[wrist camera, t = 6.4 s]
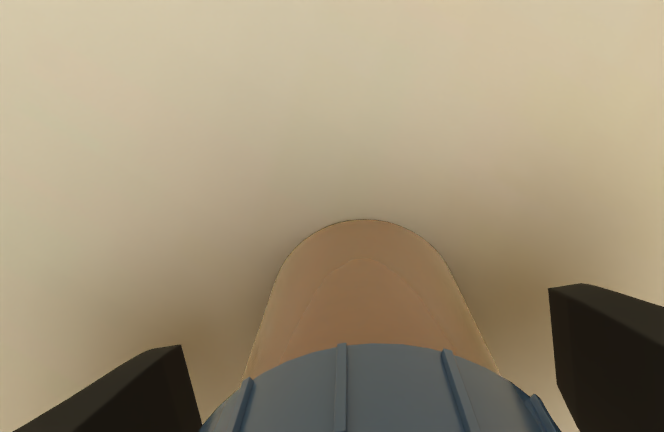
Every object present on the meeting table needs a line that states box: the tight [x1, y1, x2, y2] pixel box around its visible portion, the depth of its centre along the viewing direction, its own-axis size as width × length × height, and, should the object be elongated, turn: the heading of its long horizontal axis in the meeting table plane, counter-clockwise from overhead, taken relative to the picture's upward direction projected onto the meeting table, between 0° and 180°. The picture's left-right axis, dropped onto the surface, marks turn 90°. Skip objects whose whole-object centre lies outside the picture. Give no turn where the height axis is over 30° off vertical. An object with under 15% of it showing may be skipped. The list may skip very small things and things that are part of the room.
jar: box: [238, 219, 502, 389], centre depth 10 cm, size 4×4×8 cm
